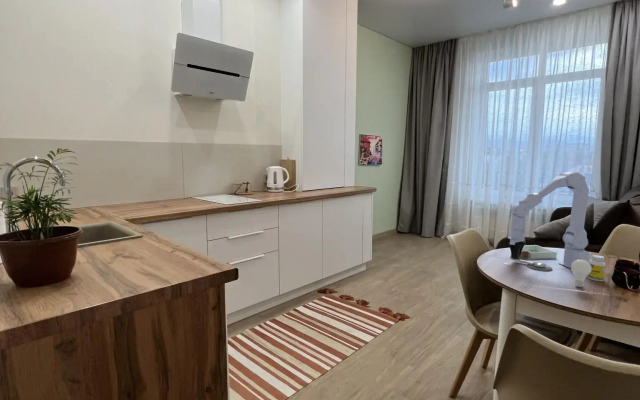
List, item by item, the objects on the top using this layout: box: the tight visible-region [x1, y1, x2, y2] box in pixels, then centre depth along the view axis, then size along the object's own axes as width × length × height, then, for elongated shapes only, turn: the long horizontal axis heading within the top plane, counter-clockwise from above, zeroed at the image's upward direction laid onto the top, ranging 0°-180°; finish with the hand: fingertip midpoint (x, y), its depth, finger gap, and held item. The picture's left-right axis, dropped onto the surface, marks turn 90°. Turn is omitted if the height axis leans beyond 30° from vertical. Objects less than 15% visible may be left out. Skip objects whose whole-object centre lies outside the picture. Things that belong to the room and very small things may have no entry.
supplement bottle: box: [587, 254, 607, 282], centre depth 142 cm, size 5×5×10 cm
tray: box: [523, 244, 558, 260], centre depth 178 cm, size 14×14×4 cm
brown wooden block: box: [510, 249, 529, 260], centre depth 171 cm, size 4×4×6 cm
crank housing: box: [503, 262, 553, 272], centre depth 158 cm, size 20×10×1 cm, turn 71°
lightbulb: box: [570, 259, 592, 288], centre depth 132 cm, size 6×6×11 cm
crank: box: [512, 250, 547, 268], centre depth 160 cm, size 14×5×7 cm, turn 40°
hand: (515, 257), depth 164 cm, fingers open, 3 cm apart
